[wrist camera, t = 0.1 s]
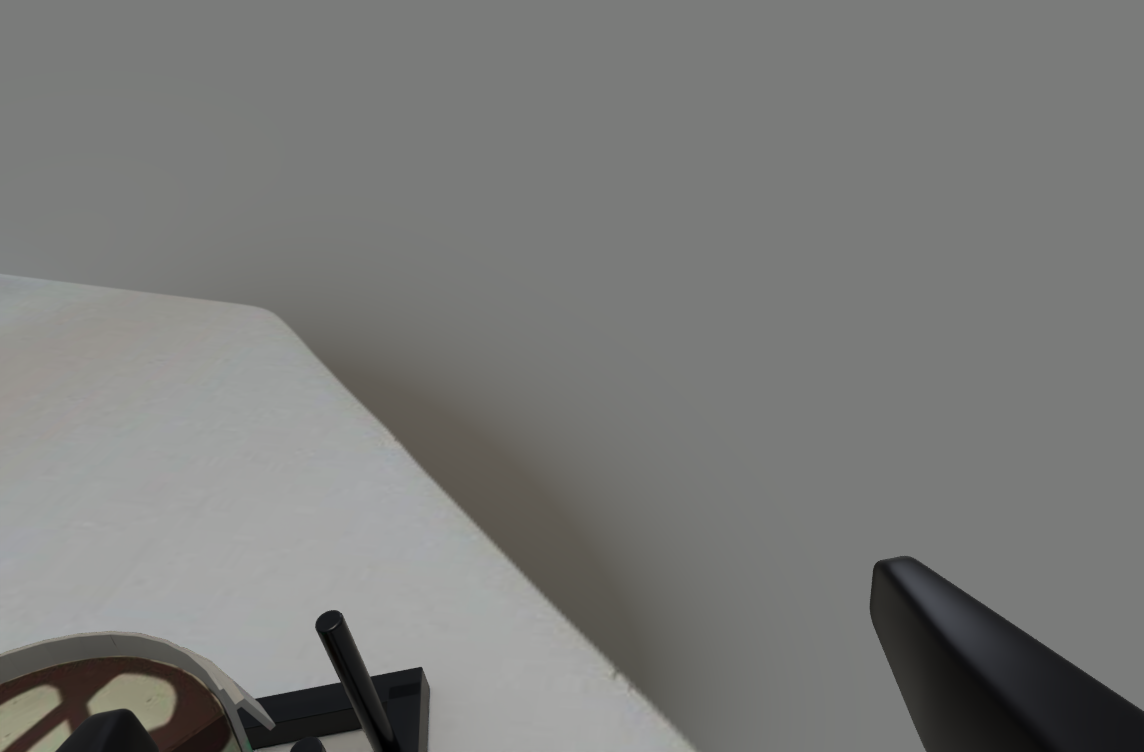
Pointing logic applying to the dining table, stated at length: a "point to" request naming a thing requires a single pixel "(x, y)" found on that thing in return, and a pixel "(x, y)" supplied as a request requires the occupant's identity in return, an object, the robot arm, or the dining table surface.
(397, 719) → the drying rack
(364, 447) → the dining table surface
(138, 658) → the food container
